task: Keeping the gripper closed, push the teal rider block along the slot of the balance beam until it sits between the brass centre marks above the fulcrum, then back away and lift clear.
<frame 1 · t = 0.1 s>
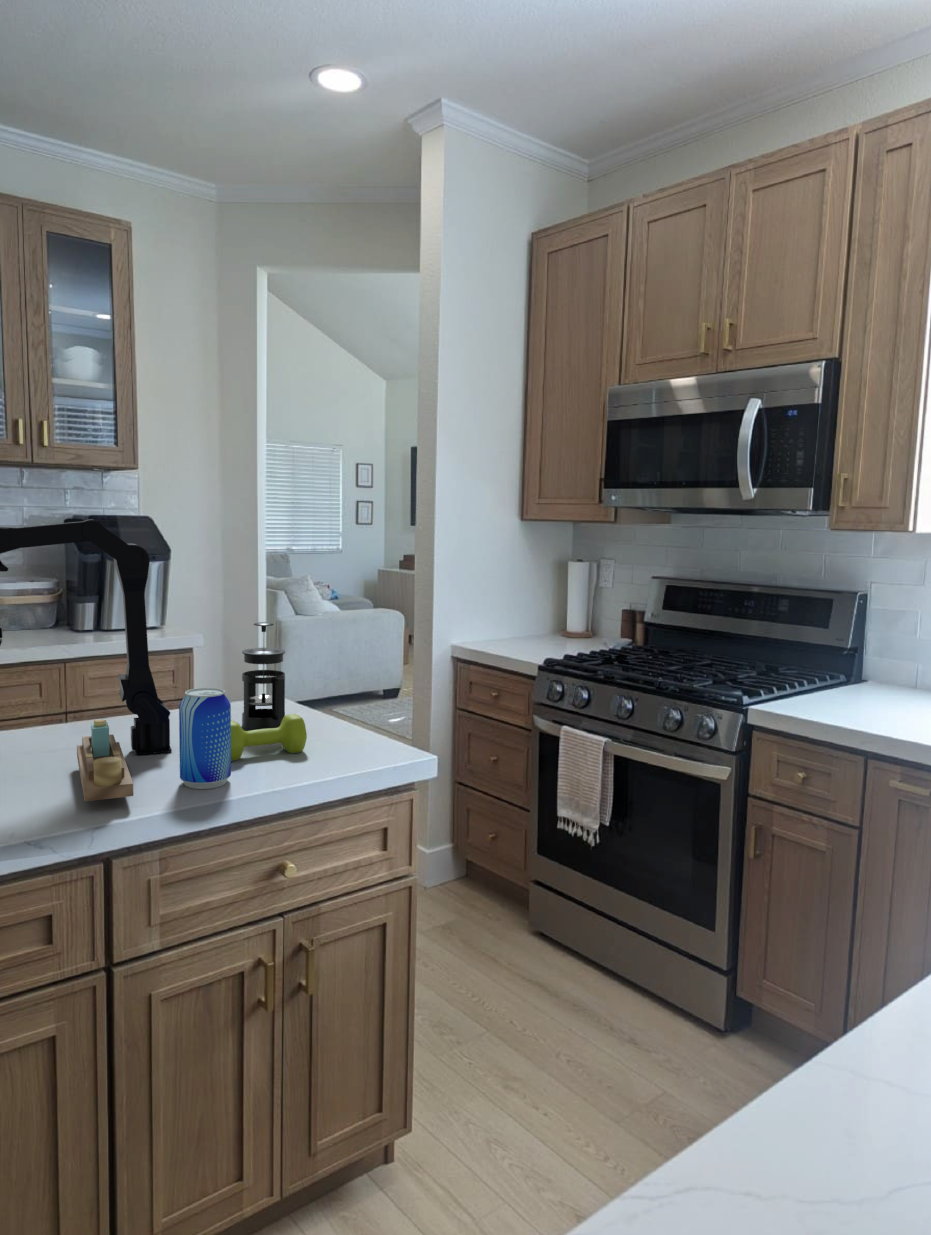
dumbbell: (262, 756, 168), on the countertop
beer can: (205, 784, 150), on the countertop
french press: (265, 729, 187), on the countertop
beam: (103, 786, 146), on the countertop
rider: (100, 737, 151), point 7 cm above the countertop, slide at 0.0 cm
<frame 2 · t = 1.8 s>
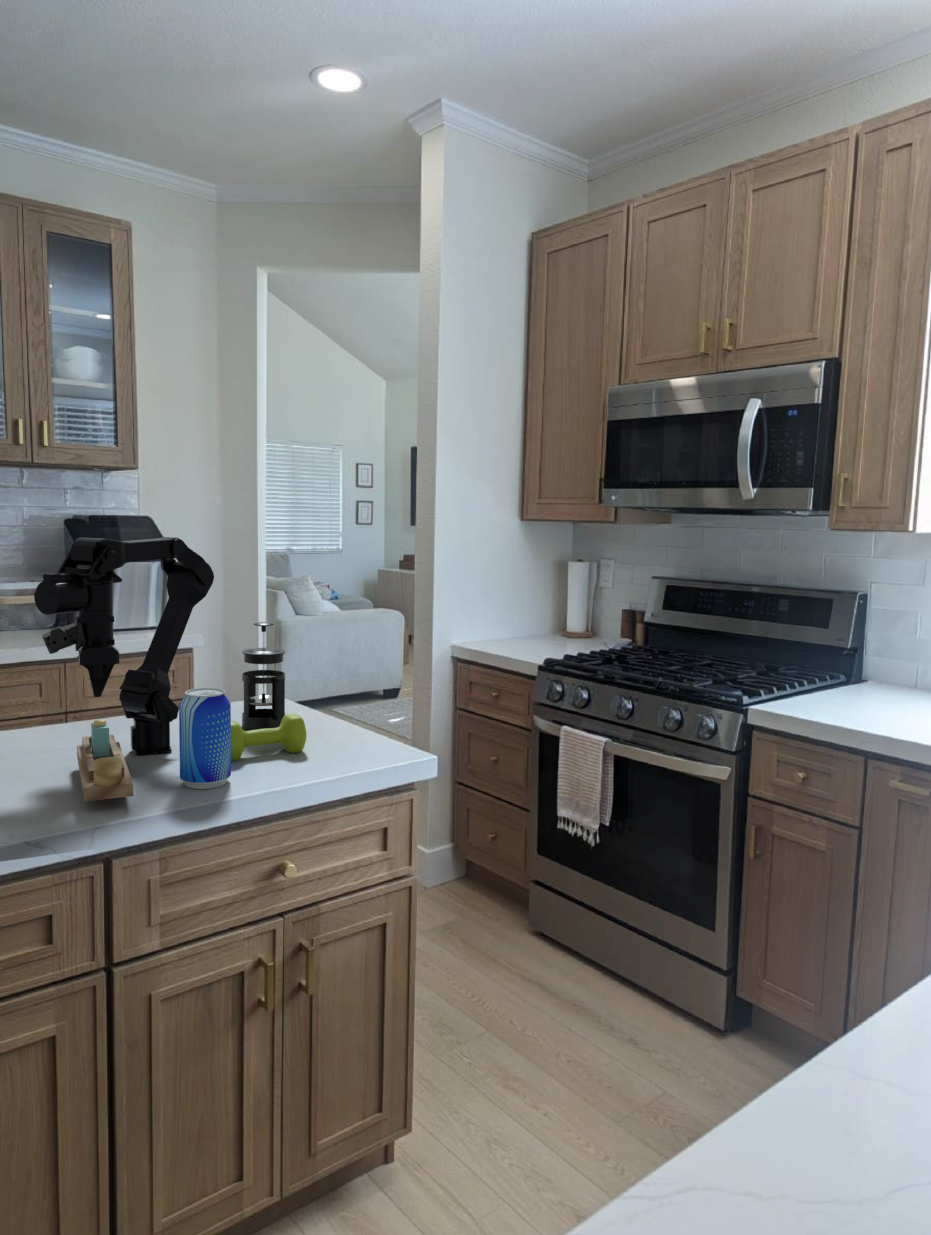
hand: (97, 696, 155), 13 cm above the countertop, tool pointing down, fingers closed
nothing on the countertop moved.
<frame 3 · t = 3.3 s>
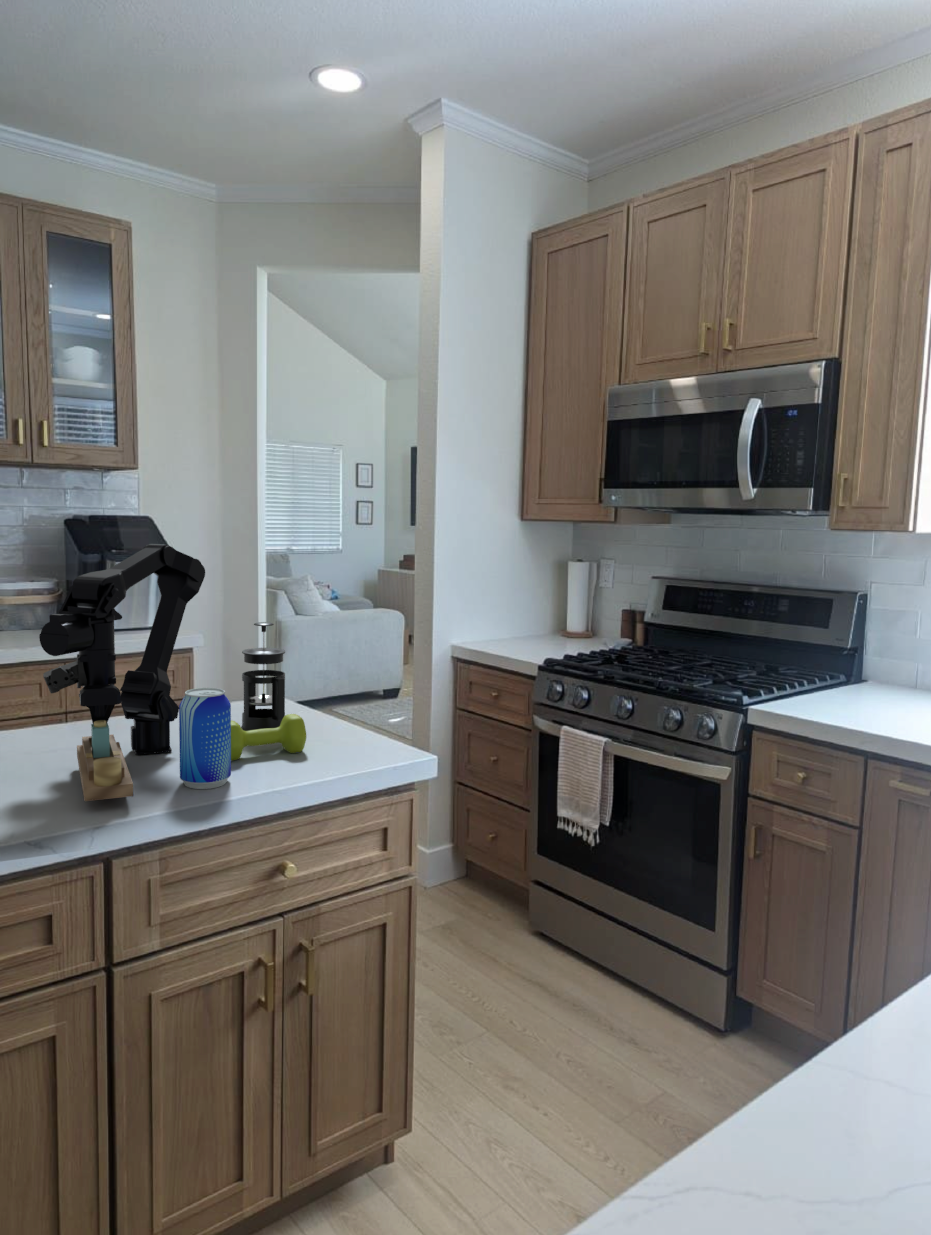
hand: (98, 735, 154), 7 cm above the countertop, tool pointing down, fingers closed
rider: (100, 737, 150), point 7 cm above the countertop, slide at 0.5 cm, touching gripper
everything else where it was.
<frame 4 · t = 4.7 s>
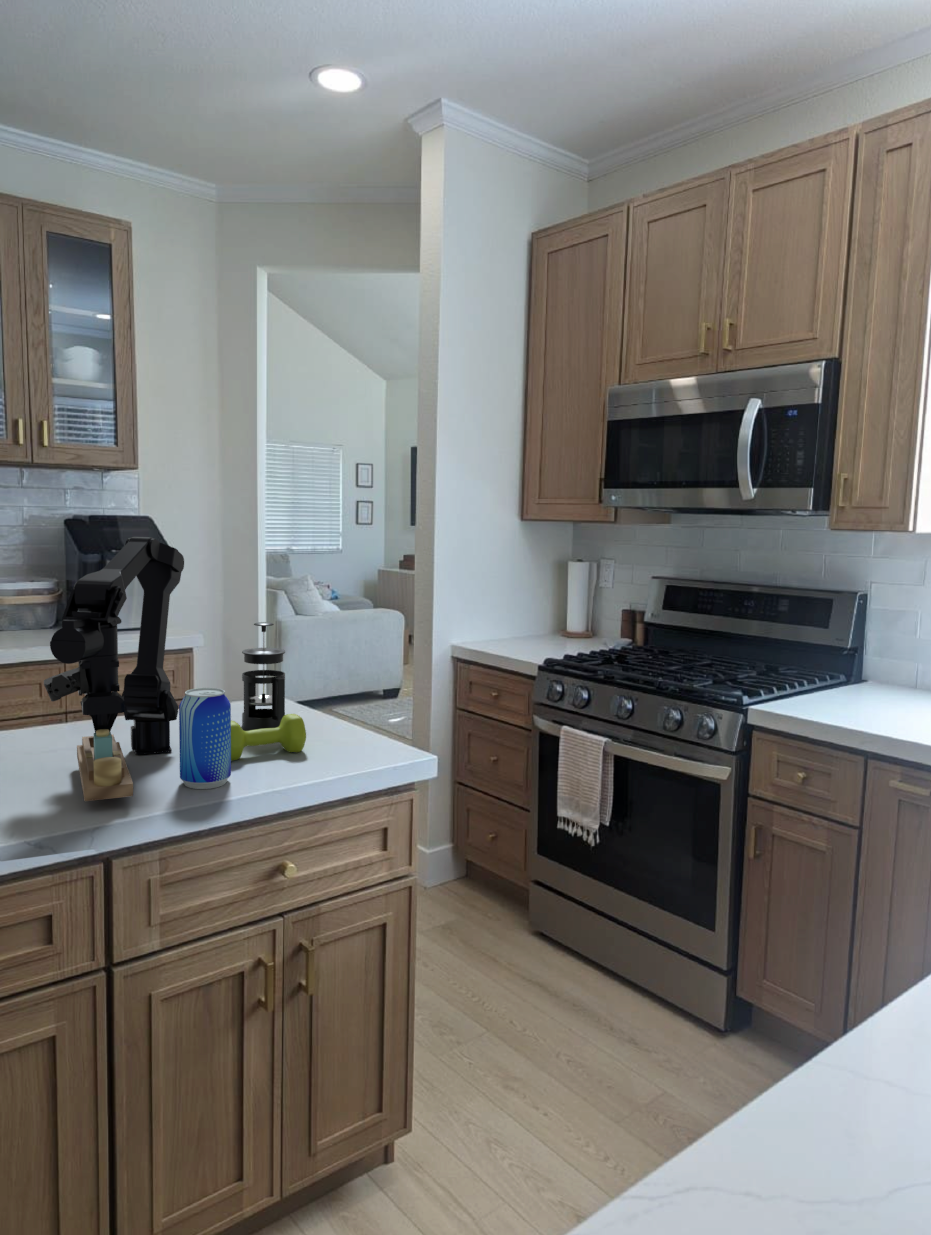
hand: (101, 744, 148), 7 cm above the countertop, tool pointing down, fingers closed
rider: (103, 747, 145), point 7 cm above the countertop, slide at 7.0 cm, touching gripper
everything else where it was.
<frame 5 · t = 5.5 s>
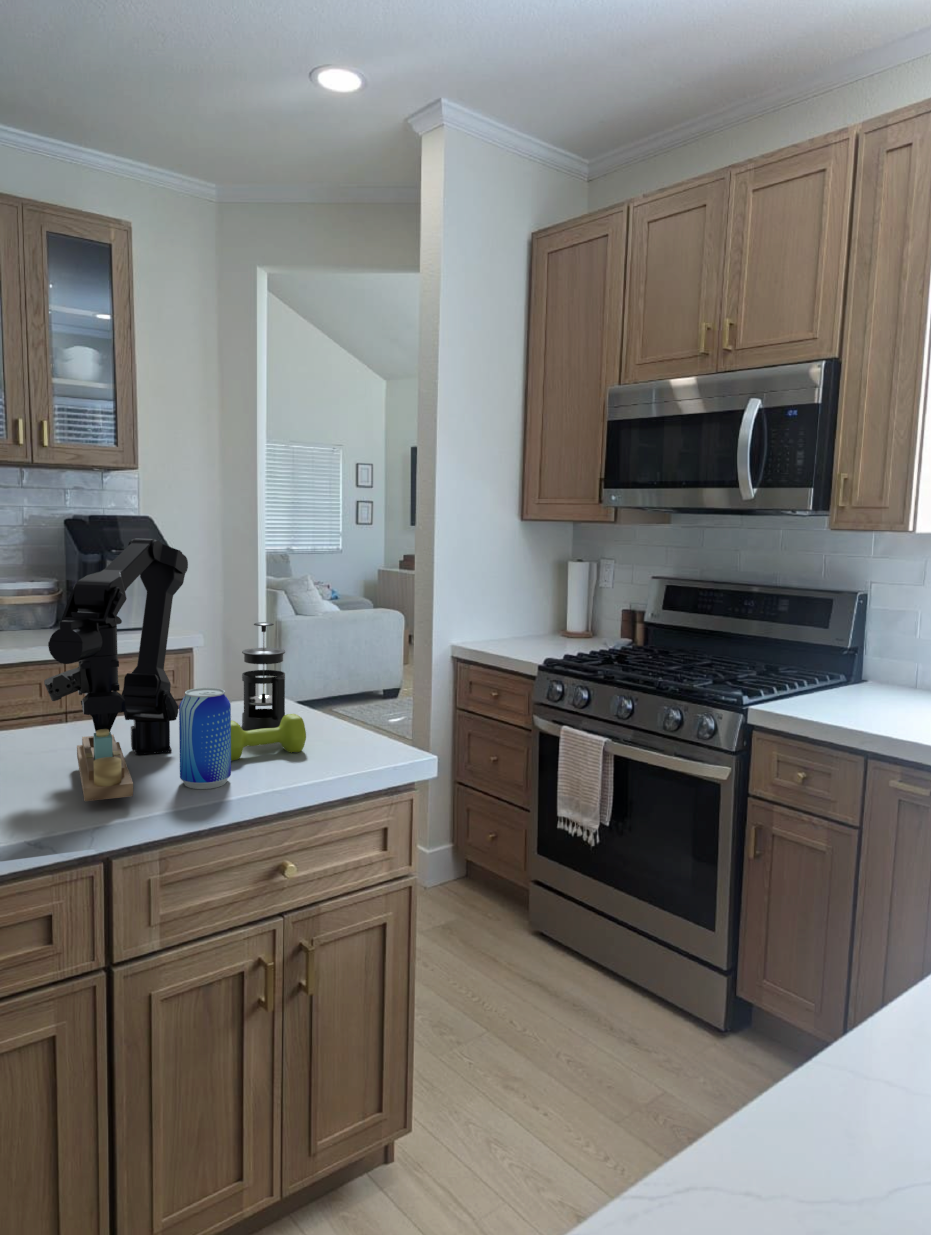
hand: (101, 743, 149), 6 cm above the countertop, tool pointing down, fingers closed
rider: (103, 747, 145), point 7 cm above the countertop, slide at 7.1 cm
everything else where it was.
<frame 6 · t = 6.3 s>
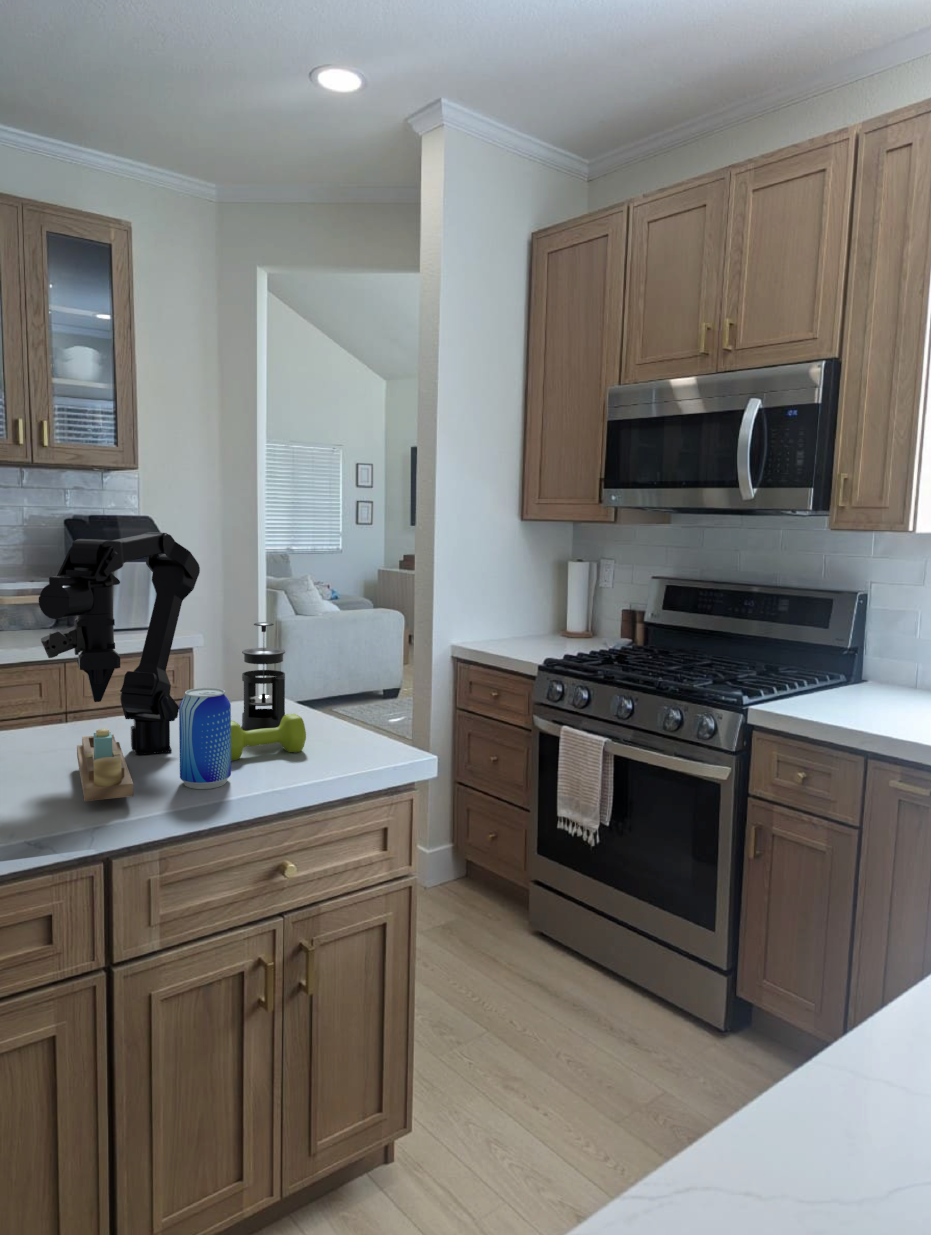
hand: (97, 701, 152), 13 cm above the countertop, tool pointing down, fingers closed
nothing on the countertop moved.
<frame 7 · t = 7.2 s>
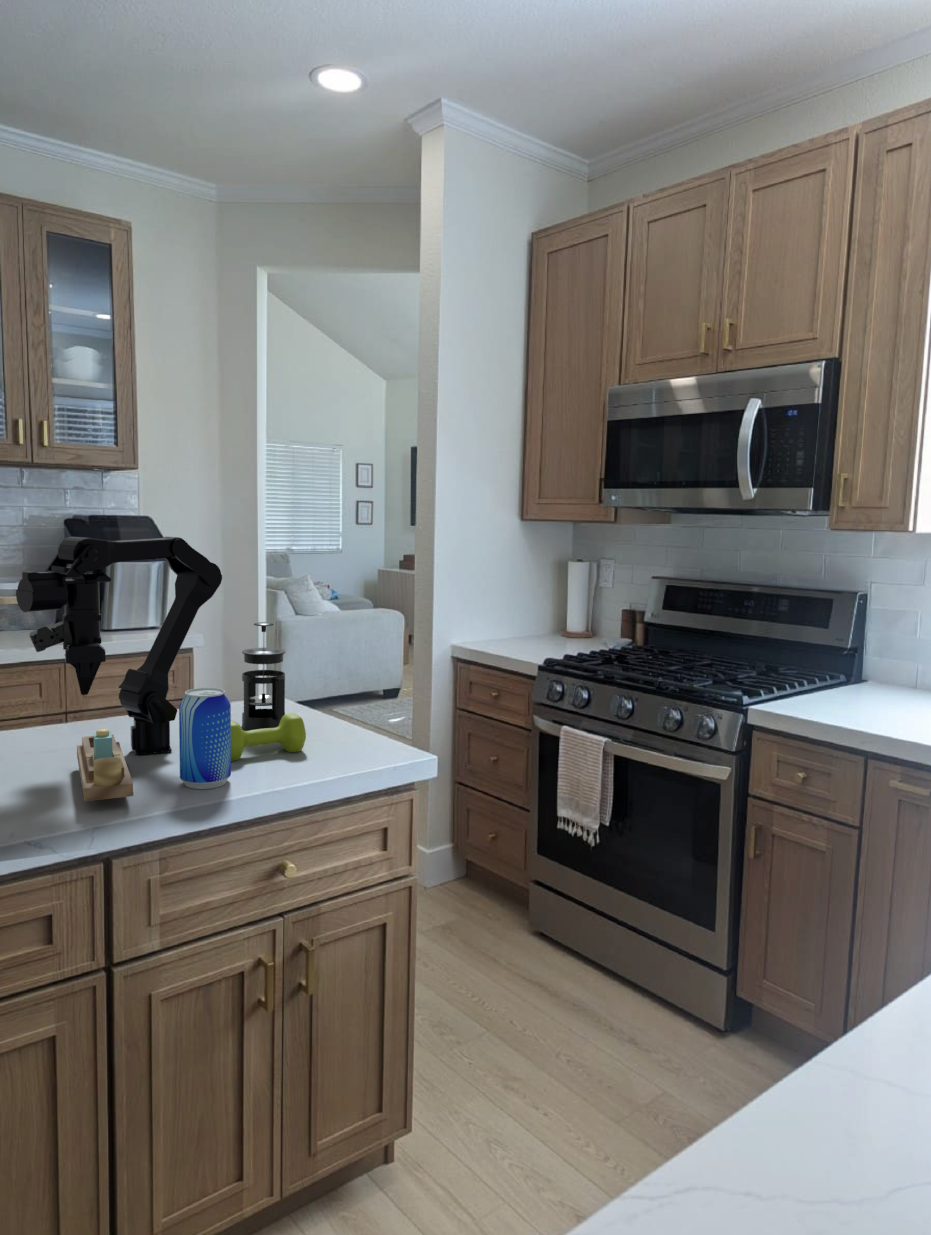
hand: (84, 694, 156), 13 cm above the countertop, tool pointing down, fingers closed
nothing on the countertop moved.
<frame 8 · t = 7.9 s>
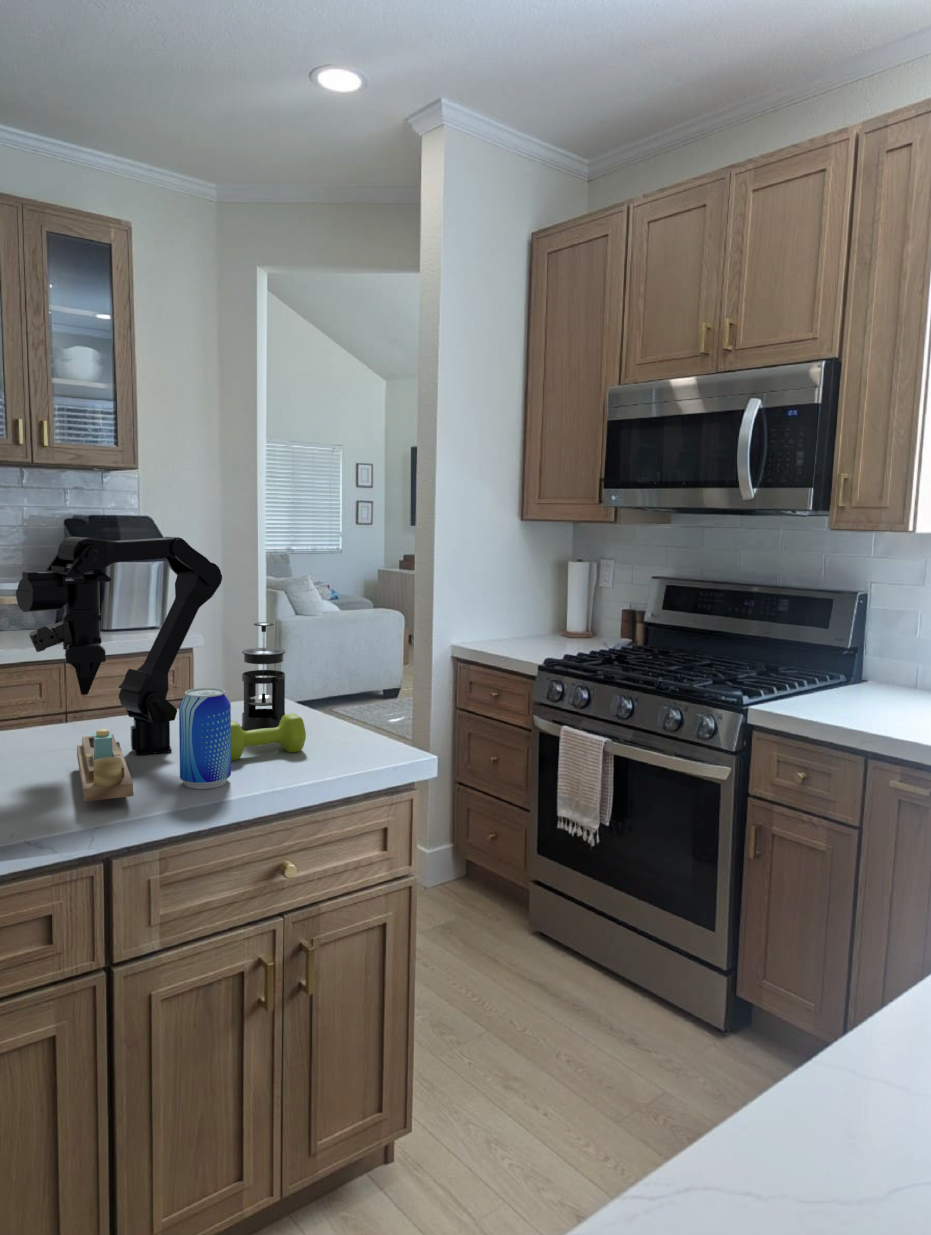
hand: (84, 694, 156), 13 cm above the countertop, tool pointing down, fingers closed
nothing on the countertop moved.
at the end: rider slide at 7.1 cm; rider moved 7.1 cm from its start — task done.
